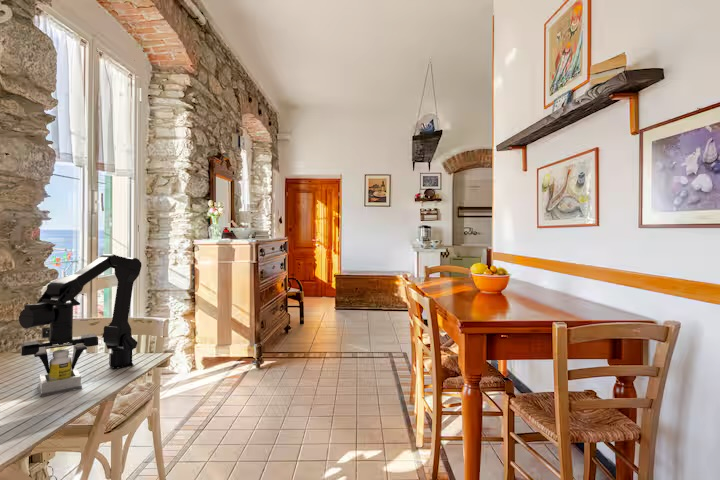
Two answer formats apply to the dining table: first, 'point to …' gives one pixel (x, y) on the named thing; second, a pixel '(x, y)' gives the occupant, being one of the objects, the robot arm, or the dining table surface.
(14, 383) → the dining table surface
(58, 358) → the supplement bottle
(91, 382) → the dining table surface
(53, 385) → the socket collar
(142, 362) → the dining table surface
